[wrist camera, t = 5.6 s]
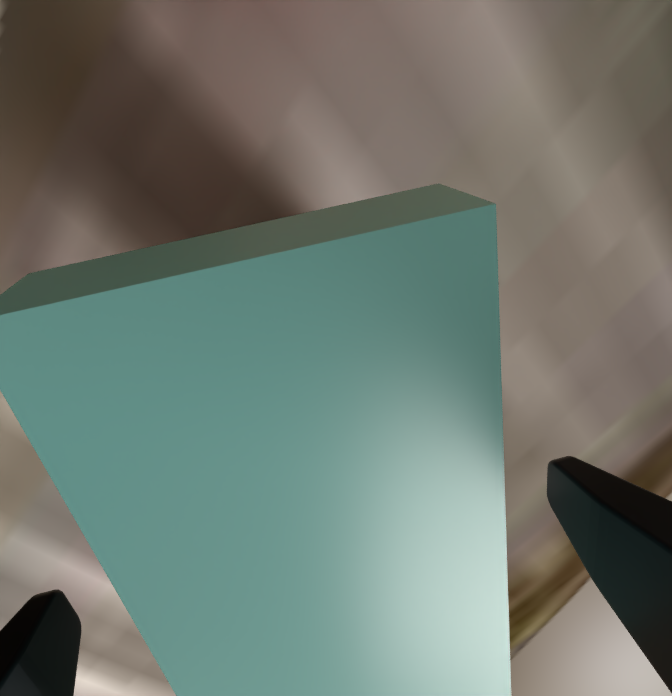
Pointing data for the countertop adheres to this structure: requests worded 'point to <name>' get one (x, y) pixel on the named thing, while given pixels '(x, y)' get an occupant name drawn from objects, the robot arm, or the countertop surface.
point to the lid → (286, 444)
